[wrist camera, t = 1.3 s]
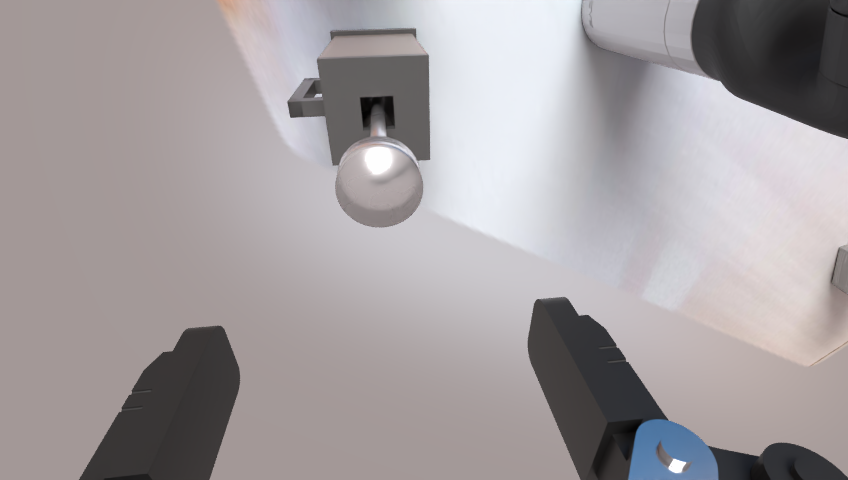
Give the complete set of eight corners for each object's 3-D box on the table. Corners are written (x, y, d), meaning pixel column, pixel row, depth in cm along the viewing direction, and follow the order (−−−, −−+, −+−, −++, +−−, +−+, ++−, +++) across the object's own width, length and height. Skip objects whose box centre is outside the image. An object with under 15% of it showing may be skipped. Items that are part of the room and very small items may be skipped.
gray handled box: (414, 27, 41) (434, 48, 28) (417, 111, 45) (435, 164, 32) (304, 31, 40) (270, 54, 27) (318, 116, 45) (294, 172, 31)
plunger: (412, 58, 32) (444, 121, 17) (415, 134, 35) (443, 240, 20) (335, 62, 31) (301, 128, 17) (345, 137, 34) (323, 248, 20)
